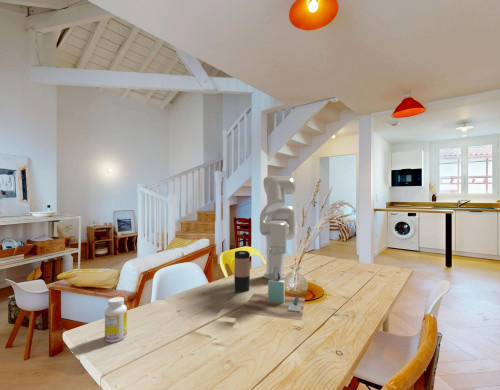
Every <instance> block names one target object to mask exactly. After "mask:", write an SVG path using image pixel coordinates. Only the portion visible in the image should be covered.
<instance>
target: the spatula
mask: <svg viewBox="0 0 500 390" xmlns="http://www.w3.org/2000/svg"><path fill="white" fill-rule="evenodd" d="M294 297H295V300H294V304H289V307H288V310H287V311H292V312H300V310H301V305H297V304H298V299H299V298H300V295H295V296H294Z"/></svg>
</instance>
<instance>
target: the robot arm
mask: <svg viewBox="0 0 500 390" xmlns="http://www.w3.org/2000/svg"><path fill="white" fill-rule="evenodd" d="M263 190H264V191H265V194H266V197H267V204H266V205H265V206H264V207H263V209H262V210H261V212H260V214H259V232H260V234H261V236H263V237H265V239H266V240H265V242H266V272H265V273H264V274H263V277H264V278H265V279H267V280H280V281H283V279H285V278H286V274H285V273H284V271H285V255H286V254H287V241H293V240H294V239H295V235H296V228H295V225H296V221H295V220H296V218H295V217H296V216H295V209H294V207H293V206H292V205H285V204H286V203H285V202H286V201H285V195H292V194H294V193H295V191H296V182H295V179H294V178H293V177H292V176H289V175H287V176H285V175H283V176H282V175H270V176H268V175H267V176H266V177H264V178H263ZM266 217H267V218H268V220H266ZM270 248H271V249H270Z"/></svg>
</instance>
